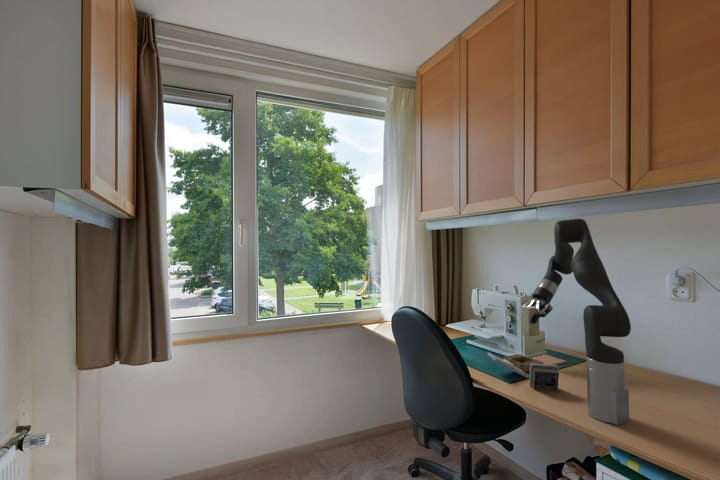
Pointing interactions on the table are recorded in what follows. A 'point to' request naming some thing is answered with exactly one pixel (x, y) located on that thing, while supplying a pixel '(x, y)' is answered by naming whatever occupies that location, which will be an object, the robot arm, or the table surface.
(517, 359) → the frame
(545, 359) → the terracotta mat
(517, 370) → the light switch
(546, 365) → the electrical switch
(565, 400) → the table surface
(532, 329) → the skincare box
